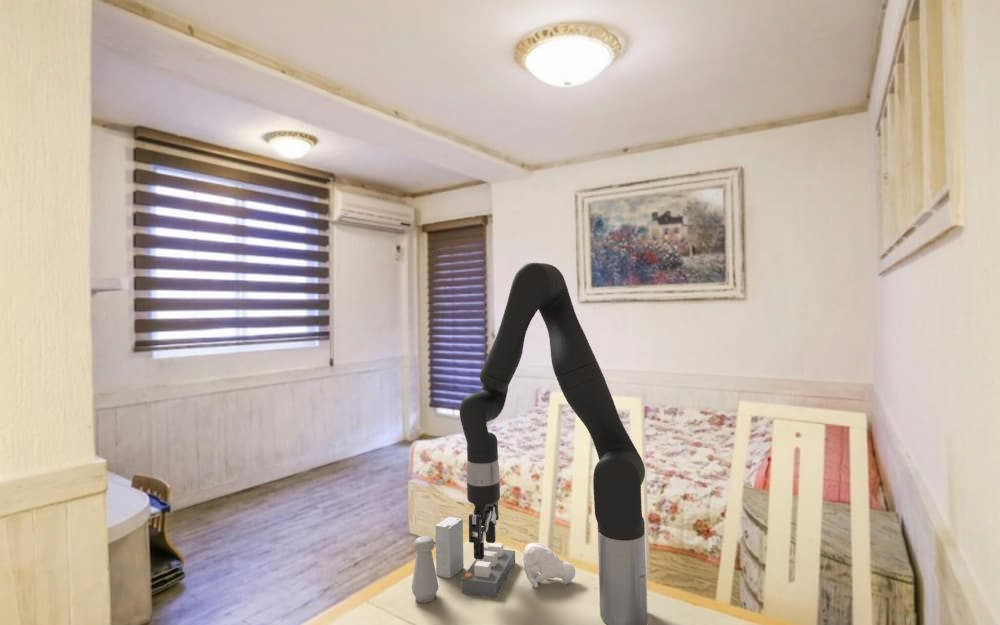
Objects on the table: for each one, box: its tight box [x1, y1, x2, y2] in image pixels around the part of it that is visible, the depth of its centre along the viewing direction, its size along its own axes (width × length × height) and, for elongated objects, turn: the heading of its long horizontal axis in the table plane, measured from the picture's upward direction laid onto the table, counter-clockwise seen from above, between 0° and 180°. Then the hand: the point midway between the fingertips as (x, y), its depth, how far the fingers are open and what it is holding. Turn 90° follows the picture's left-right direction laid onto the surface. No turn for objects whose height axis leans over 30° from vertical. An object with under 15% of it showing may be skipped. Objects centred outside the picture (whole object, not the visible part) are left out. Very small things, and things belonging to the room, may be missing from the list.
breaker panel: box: [461, 542, 516, 598], centre depth 123 cm, size 8×16×5 cm, turn 163°
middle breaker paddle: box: [482, 551, 498, 567], centre depth 123 cm, size 3×2×2 cm
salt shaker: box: [411, 535, 439, 604], centre depth 114 cm, size 6×6×13 cm
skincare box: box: [434, 516, 465, 579], centre depth 126 cm, size 6×4×12 cm
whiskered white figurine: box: [522, 542, 576, 588], centre depth 120 cm, size 6×8×12 cm
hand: (485, 550), depth 120 cm, fingers open, 8 cm apart
